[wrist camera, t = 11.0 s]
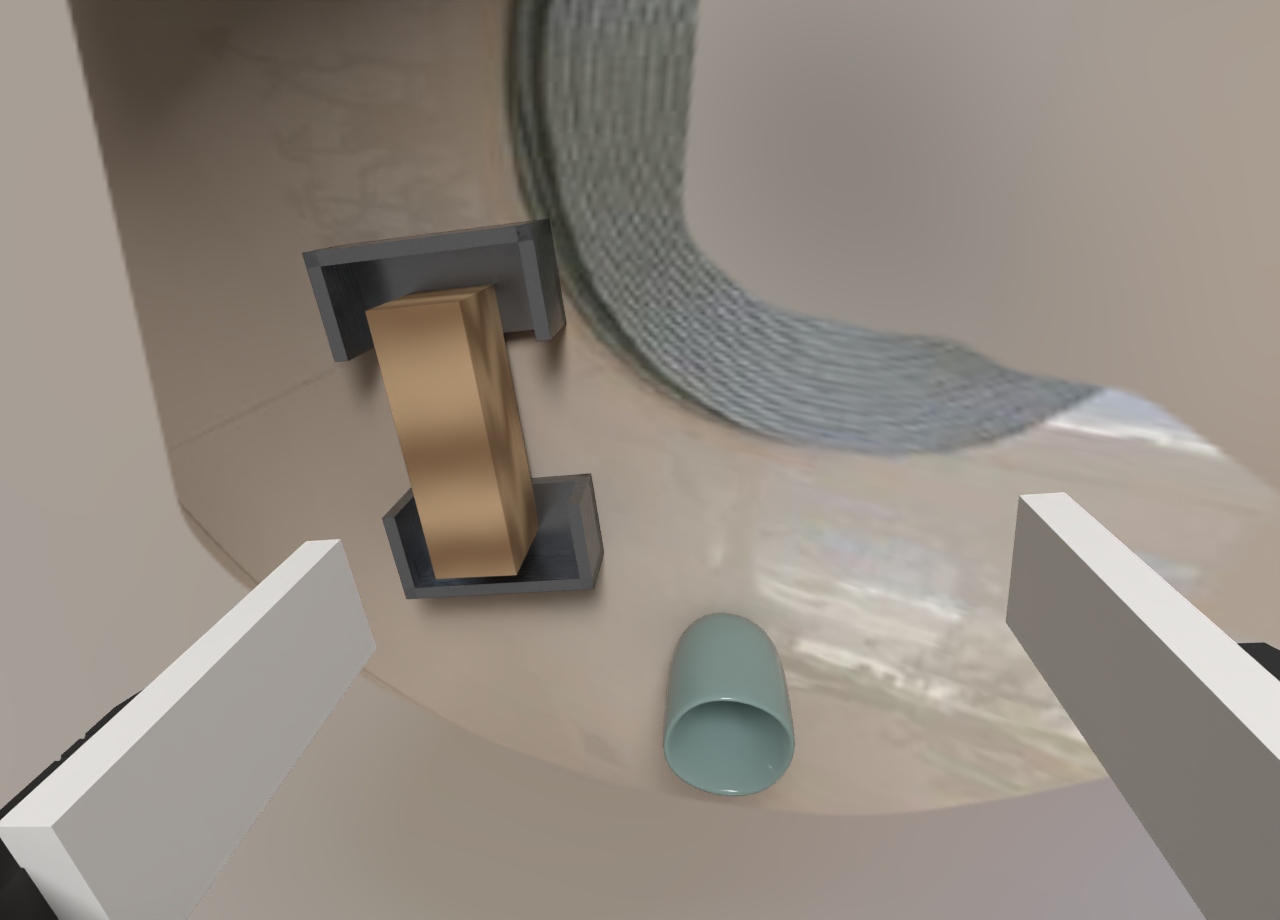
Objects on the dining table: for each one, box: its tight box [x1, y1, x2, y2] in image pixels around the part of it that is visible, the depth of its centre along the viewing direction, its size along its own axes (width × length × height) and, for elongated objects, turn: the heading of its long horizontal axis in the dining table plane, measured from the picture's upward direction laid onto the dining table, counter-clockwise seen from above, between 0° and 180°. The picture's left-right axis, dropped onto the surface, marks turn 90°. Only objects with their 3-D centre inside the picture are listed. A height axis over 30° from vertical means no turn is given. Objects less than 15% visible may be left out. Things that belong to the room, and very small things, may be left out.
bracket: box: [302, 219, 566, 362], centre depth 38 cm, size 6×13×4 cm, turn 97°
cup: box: [663, 613, 795, 796], centre depth 44 cm, size 8×8×10 cm
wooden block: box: [365, 284, 540, 579], centre depth 40 cm, size 16×5×6 cm, turn 6°
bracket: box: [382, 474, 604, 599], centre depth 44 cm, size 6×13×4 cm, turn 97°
